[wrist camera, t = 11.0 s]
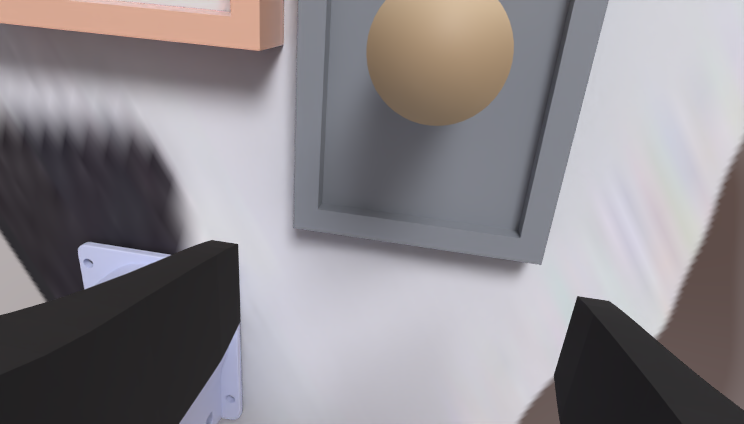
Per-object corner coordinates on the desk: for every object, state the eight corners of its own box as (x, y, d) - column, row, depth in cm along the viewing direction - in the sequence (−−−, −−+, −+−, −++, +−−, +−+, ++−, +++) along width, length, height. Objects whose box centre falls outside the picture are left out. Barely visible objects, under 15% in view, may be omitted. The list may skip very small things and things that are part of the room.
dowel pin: (479, 84, 18) (497, 134, 11) (390, 73, 18) (360, 116, 12) (497, -14, 16) (528, -19, 10) (401, -24, 17) (373, -35, 10)
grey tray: (535, 247, 21) (541, 264, 19) (303, 213, 22) (293, 228, 20) (656, -245, 14) (677, -272, 13) (317, -257, 15) (304, -282, 14)
